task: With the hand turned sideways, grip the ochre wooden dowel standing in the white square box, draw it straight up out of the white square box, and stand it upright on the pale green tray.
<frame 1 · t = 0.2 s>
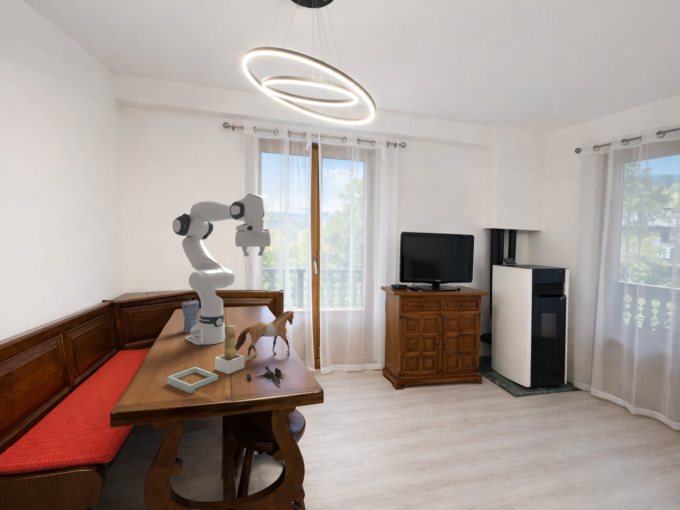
hand: (253, 256, 163), 48 cm above the table, tool pointing down, fingers open, 8 cm apart
bear figurine: (265, 380, 136), on the table
horse figurine: (263, 355, 162), on the table
tray: (193, 382, 130), on the table
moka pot: (191, 331, 199), on the table
dowel: (229, 368, 142), point 1 cm above the table, touching white square box
white square box: (229, 370, 142), on the table
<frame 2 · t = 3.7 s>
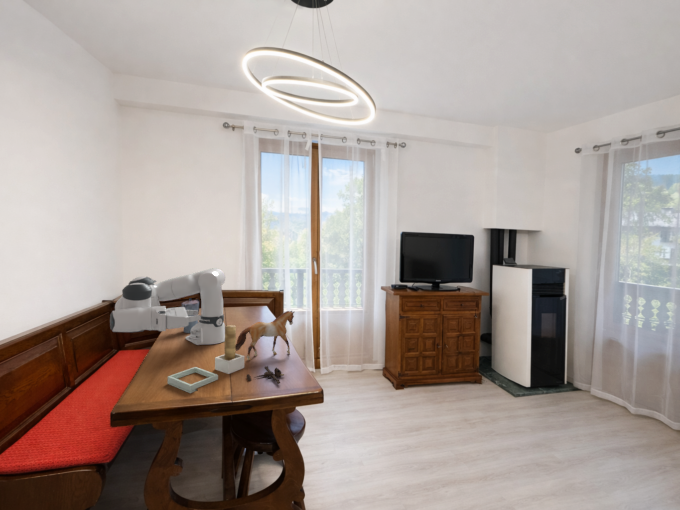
hand: (199, 314, 135), 25 cm above the table, tool horizontal, fingers open, 8 cm apart
nothing on the table moved.
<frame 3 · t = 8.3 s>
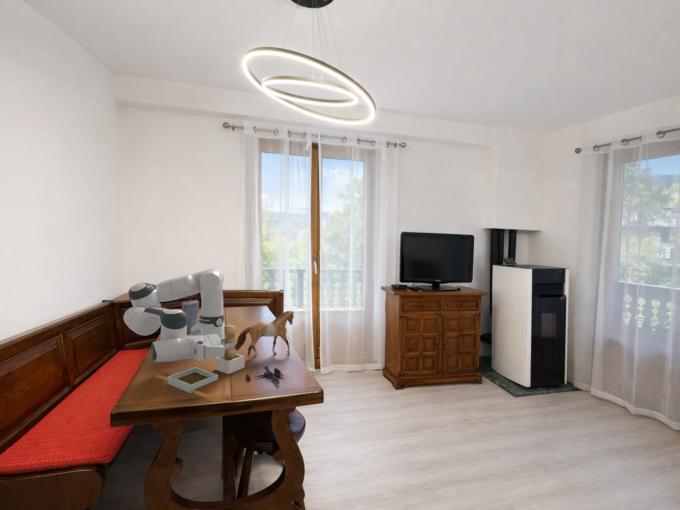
hand: (232, 342, 142), 12 cm above the table, tool horizontal, fingers closed on dowel, 4 cm apart
dowel: (229, 368, 142), point 1 cm above the table, touching white square box, gripper
everything else where it was.
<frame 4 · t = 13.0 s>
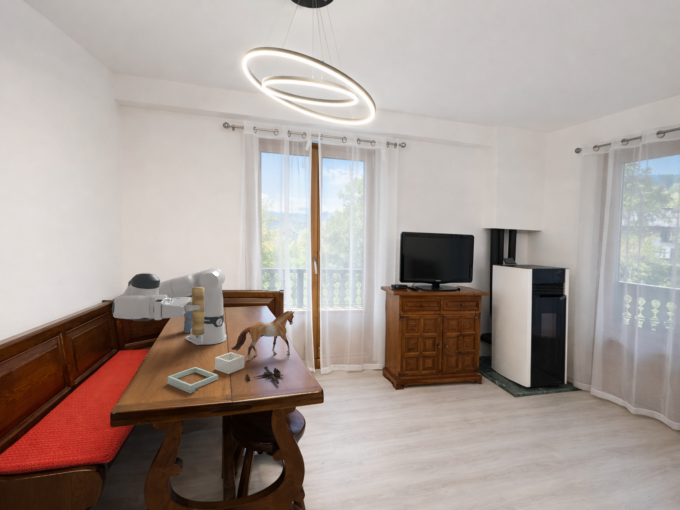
hand: (200, 305, 130), 30 cm above the table, tool horizontal, fingers closed on dowel, 4 cm apart
dowel: (198, 333, 130), point 19 cm above the table, touching gripper
everything else where it was.
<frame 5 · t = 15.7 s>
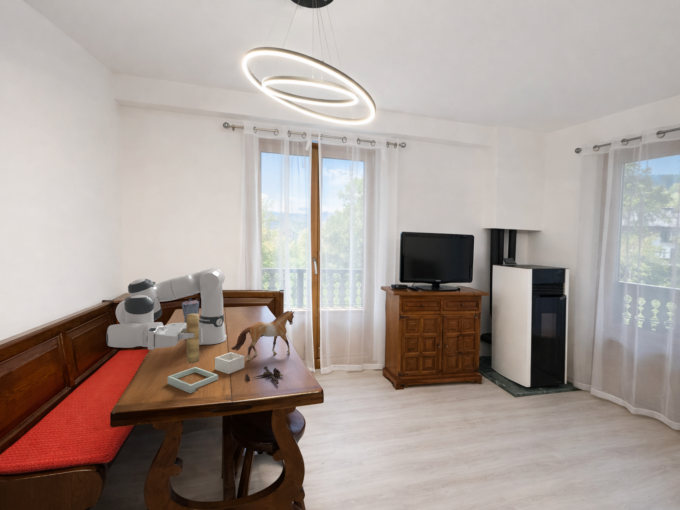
hand: (195, 332, 128), 20 cm above the table, tool horizontal, fingers closed on dowel, 4 cm apart
dowel: (192, 361, 129), point 9 cm above the table, touching gripper
everything else where it was.
when the fingers open (13 cm above the table, at t = 17.7 s): dowel drops 1 cm, resting on tray.
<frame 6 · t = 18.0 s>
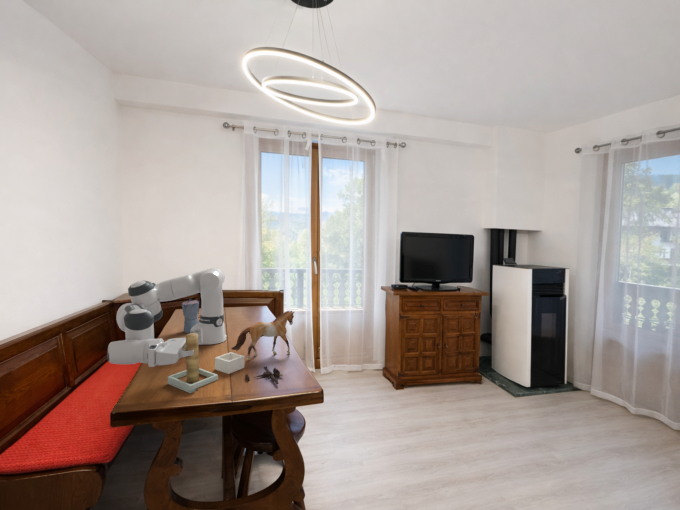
hand: (195, 348, 129), 13 cm above the table, tool horizontal, fingers open, 7 cm apart
dowel: (192, 380, 130), point 1 cm above the table, touching tray
everything else where it was.
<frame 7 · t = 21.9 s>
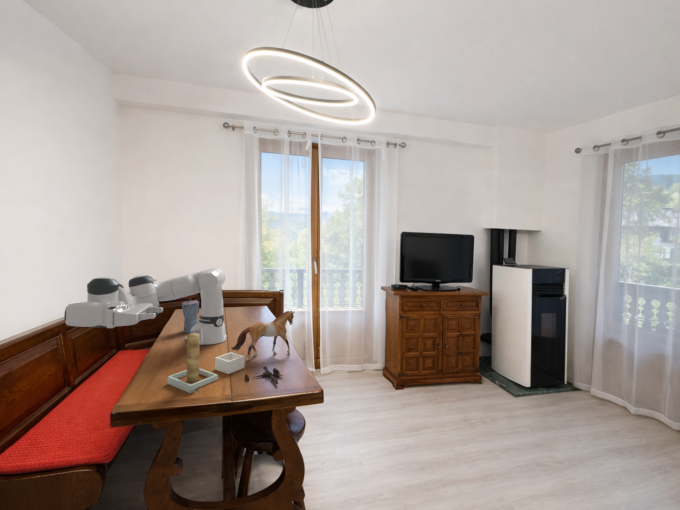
hand: (159, 312, 125), 28 cm above the table, tool horizontal, fingers open, 8 cm apart
nothing on the table moved.
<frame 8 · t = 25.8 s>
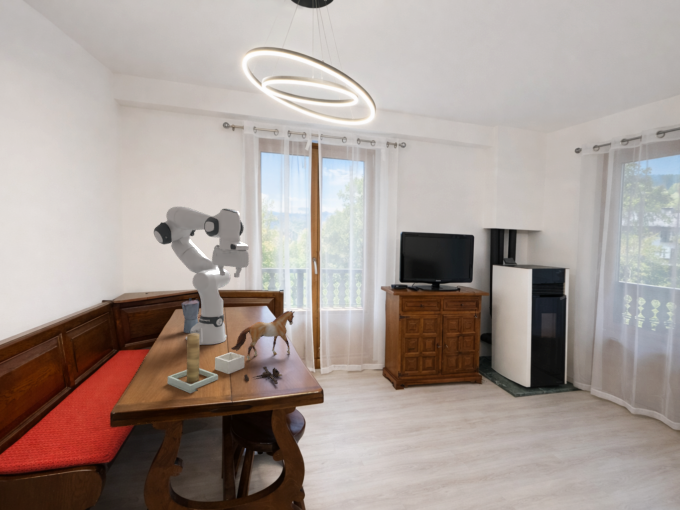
hand: (229, 276, 150), 39 cm above the table, tool pointing down, fingers open, 8 cm apart
nothing on the table moved.
at the end: dowel inside the target area on the tray (0.0 cm from its centre), point 0.8 cm above the tray's base; dowel tilted 0°; the gripper is holding nothing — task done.
